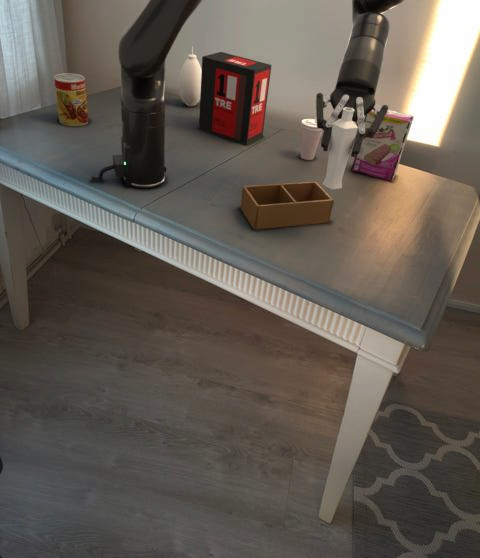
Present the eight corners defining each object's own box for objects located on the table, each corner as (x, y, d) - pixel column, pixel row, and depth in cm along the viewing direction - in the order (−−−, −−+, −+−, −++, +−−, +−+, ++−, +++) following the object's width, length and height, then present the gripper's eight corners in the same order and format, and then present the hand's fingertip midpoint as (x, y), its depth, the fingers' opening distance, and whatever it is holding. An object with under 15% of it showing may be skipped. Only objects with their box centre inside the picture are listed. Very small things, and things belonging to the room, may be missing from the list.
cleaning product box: (198, 129, 147) (202, 56, 135) (216, 121, 153) (220, 51, 141) (246, 145, 141) (254, 70, 129) (262, 136, 147) (271, 64, 135)
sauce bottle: (175, 107, 160) (176, 46, 149) (181, 100, 166) (183, 41, 156) (199, 110, 160) (202, 50, 149) (204, 103, 166) (207, 44, 155)
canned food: (84, 127, 140) (80, 83, 132) (55, 124, 139) (50, 80, 132) (91, 117, 146) (87, 74, 139) (64, 115, 146) (59, 71, 138)
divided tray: (254, 229, 105) (257, 206, 101) (240, 208, 111) (242, 186, 108) (328, 222, 110) (333, 200, 107) (311, 202, 117) (315, 181, 113)
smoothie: (317, 163, 135) (328, 112, 127) (294, 159, 136) (302, 108, 127) (319, 154, 140) (329, 104, 132) (296, 150, 141) (305, 100, 133)
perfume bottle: (318, 179, 101) (332, 104, 92) (339, 179, 101) (356, 105, 92) (323, 189, 97) (338, 112, 88) (345, 190, 98) (363, 114, 89)
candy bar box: (350, 171, 133) (365, 109, 123) (355, 165, 137) (370, 104, 127) (392, 182, 130) (411, 120, 120) (395, 175, 134) (414, 114, 124)
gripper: (324, 51, 93) (301, 136, 91) (402, 64, 91) (380, 151, 88) (322, 74, 100) (301, 153, 98) (395, 86, 98) (375, 168, 96)
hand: (339, 151), depth 93 cm, fingers closed on perfume bottle, 4 cm apart
